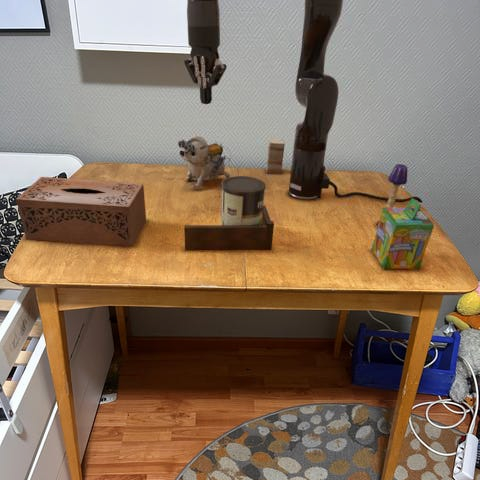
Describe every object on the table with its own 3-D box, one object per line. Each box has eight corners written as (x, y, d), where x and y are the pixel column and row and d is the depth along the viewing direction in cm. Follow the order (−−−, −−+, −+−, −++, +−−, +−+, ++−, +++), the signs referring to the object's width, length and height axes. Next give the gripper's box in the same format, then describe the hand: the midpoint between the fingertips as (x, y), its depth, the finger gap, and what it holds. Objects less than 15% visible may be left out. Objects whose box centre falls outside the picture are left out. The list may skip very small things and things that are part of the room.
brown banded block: (266, 173, 155) (268, 142, 149) (265, 169, 159) (268, 138, 153) (282, 174, 156) (285, 143, 150) (281, 169, 159) (284, 139, 153)
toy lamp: (394, 225, 128) (411, 164, 118) (393, 232, 124) (410, 170, 114) (377, 221, 129) (391, 161, 119) (375, 228, 125) (390, 166, 115)
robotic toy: (168, 183, 144) (166, 133, 135) (212, 172, 154) (212, 124, 145) (194, 197, 137) (193, 144, 128) (238, 184, 146) (240, 134, 137)
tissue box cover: (26, 239, 112) (15, 199, 106) (49, 214, 123) (41, 176, 117) (133, 246, 111) (129, 206, 105) (146, 220, 123) (143, 183, 117)
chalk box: (370, 250, 115) (384, 193, 106) (406, 250, 116) (423, 193, 107) (382, 270, 108) (398, 209, 99) (420, 270, 109) (440, 210, 100)
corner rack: (264, 226, 123) (266, 201, 119) (271, 250, 113) (274, 223, 109) (184, 226, 121) (184, 201, 117) (184, 250, 111) (184, 223, 106)
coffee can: (262, 230, 121) (266, 177, 113) (259, 249, 113) (264, 193, 104) (222, 227, 122) (224, 174, 113) (217, 245, 113) (218, 189, 105)
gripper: (235, 24, 107) (235, 105, 118) (195, 20, 114) (198, 97, 125) (212, 26, 103) (214, 110, 113) (172, 22, 110) (177, 101, 120)
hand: (206, 103), depth 119 cm, fingers closed
